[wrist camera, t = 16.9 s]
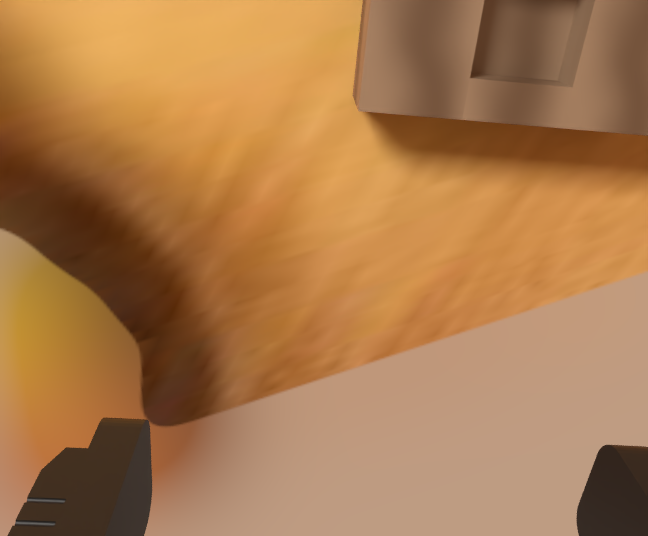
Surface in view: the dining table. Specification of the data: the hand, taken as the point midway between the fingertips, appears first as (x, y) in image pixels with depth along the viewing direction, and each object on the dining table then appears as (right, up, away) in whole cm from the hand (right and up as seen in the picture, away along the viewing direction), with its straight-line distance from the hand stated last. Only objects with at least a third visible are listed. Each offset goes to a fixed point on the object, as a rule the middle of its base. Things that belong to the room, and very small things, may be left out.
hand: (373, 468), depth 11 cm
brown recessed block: (+10, +18, +25) cm, 32 cm away
